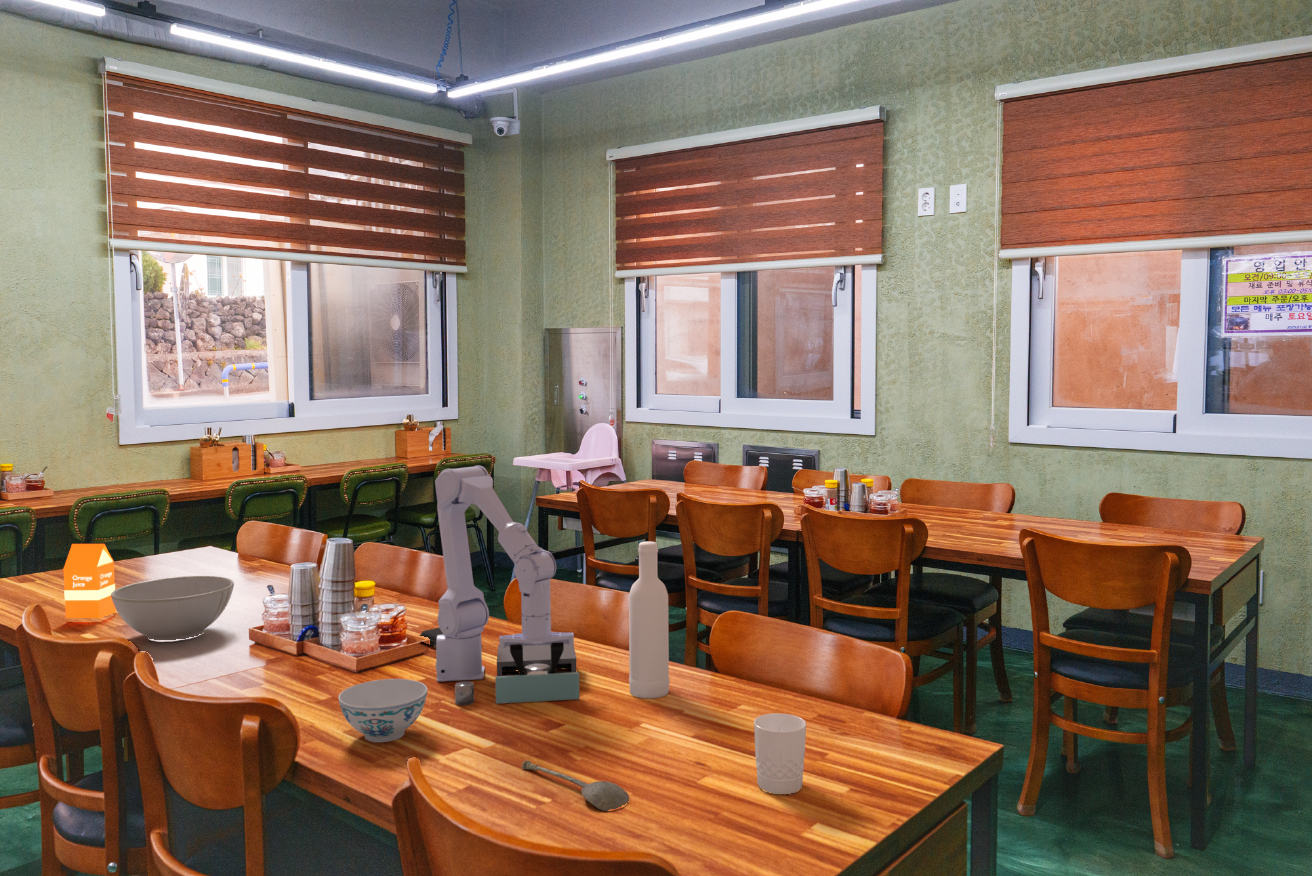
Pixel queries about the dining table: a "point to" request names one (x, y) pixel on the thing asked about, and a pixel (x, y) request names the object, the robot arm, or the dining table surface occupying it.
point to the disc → (536, 669)
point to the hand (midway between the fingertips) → (537, 681)
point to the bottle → (648, 629)
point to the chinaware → (383, 707)
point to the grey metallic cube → (464, 693)
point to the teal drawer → (537, 687)
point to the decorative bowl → (173, 605)
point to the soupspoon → (592, 789)
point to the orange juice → (89, 582)
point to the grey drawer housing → (535, 658)
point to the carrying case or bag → (432, 635)
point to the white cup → (780, 752)
